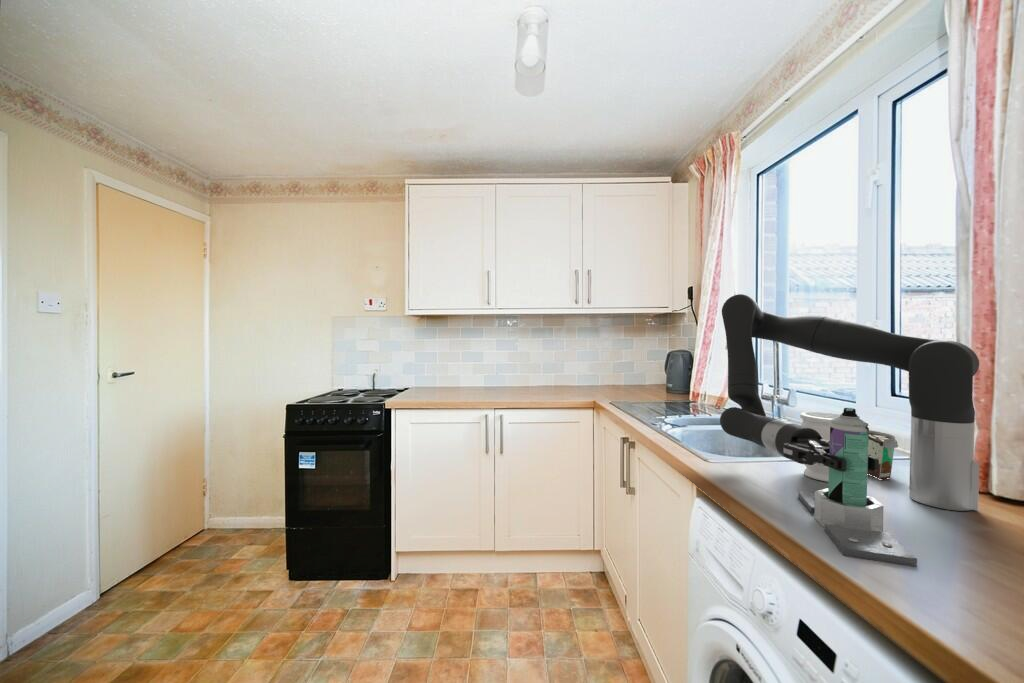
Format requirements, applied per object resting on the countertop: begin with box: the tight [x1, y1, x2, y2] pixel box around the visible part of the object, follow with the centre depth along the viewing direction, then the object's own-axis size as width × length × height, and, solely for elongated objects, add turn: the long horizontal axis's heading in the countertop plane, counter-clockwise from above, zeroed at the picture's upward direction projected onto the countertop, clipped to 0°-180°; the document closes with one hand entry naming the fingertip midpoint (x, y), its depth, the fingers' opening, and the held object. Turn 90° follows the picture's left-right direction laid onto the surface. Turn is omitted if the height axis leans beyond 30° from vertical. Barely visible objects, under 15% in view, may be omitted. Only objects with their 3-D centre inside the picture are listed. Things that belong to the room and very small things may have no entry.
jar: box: [799, 411, 840, 483], centre depth 104 cm, size 11×10×15 cm
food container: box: [868, 429, 899, 479], centre depth 107 cm, size 12×6×10 cm, turn 179°
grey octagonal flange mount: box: [797, 487, 918, 568], centre depth 78 cm, size 9×26×5 cm, turn 160°
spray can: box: [827, 407, 870, 506], centre depth 78 cm, size 6×6×20 cm
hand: (860, 465), depth 75 cm, fingers closed on spray can, 5 cm apart
